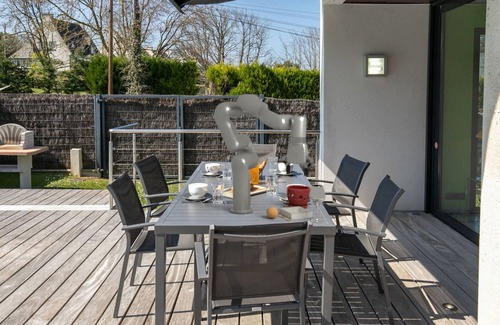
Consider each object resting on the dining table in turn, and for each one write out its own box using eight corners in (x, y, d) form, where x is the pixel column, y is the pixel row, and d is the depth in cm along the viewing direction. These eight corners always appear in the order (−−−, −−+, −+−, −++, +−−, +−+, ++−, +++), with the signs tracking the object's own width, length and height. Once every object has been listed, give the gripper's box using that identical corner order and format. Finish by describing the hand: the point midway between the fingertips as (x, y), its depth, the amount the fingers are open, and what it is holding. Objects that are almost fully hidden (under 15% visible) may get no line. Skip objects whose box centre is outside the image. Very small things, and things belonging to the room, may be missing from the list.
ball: (264, 217, 252) (264, 206, 252) (275, 216, 255) (275, 205, 254) (269, 220, 247) (269, 208, 246) (280, 219, 249) (280, 207, 248)
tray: (279, 213, 261) (279, 208, 261) (299, 211, 266) (299, 206, 265) (291, 219, 248) (291, 213, 248) (312, 217, 253) (312, 212, 252)
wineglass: (323, 219, 250) (324, 184, 248) (326, 223, 242) (327, 187, 240) (307, 219, 250) (307, 184, 248) (309, 223, 242) (310, 187, 239)
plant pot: (284, 209, 271) (285, 188, 269) (288, 204, 283) (288, 184, 282) (308, 211, 268) (308, 189, 266) (311, 206, 280) (311, 185, 279)
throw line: (273, 213, 262) (273, 212, 262) (275, 213, 262) (275, 212, 262) (290, 222, 244) (290, 221, 244) (293, 221, 244) (293, 221, 244)
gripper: (279, 140, 244) (278, 174, 246) (311, 142, 235) (310, 177, 237) (285, 139, 250) (284, 172, 252) (317, 141, 241) (316, 175, 244)
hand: (297, 174), depth 245 cm, fingers open, 9 cm apart
